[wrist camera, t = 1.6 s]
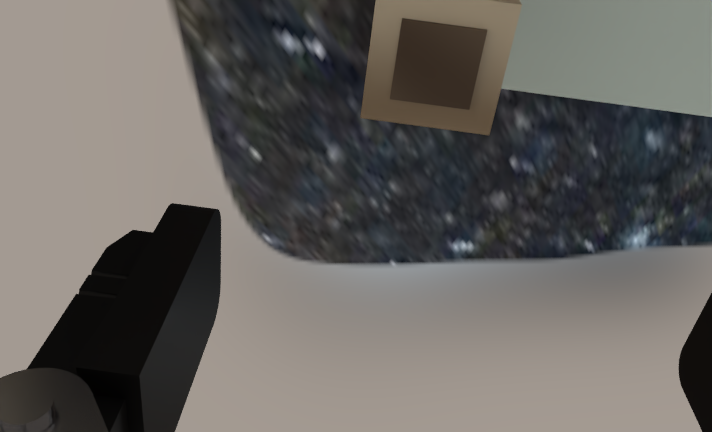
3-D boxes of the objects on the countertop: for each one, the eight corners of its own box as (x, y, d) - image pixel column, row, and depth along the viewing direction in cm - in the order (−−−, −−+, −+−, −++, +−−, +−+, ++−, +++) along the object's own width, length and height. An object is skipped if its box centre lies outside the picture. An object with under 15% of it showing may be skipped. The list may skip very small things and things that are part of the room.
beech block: (387, -78, 27) (377, -14, 18) (486, -64, 27) (522, 6, 18) (374, 21, 29) (359, 119, 20) (465, 33, 29) (489, 137, 20)
